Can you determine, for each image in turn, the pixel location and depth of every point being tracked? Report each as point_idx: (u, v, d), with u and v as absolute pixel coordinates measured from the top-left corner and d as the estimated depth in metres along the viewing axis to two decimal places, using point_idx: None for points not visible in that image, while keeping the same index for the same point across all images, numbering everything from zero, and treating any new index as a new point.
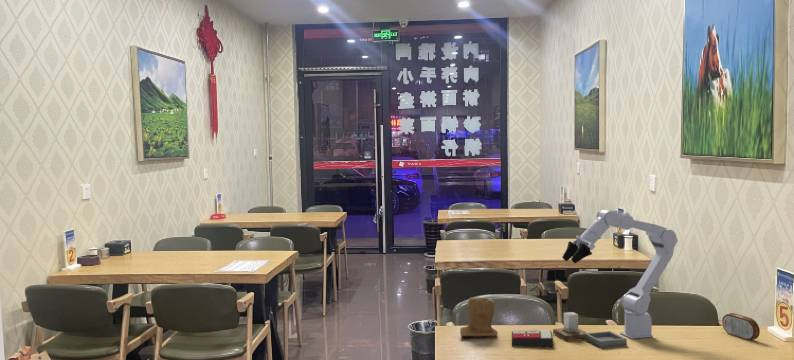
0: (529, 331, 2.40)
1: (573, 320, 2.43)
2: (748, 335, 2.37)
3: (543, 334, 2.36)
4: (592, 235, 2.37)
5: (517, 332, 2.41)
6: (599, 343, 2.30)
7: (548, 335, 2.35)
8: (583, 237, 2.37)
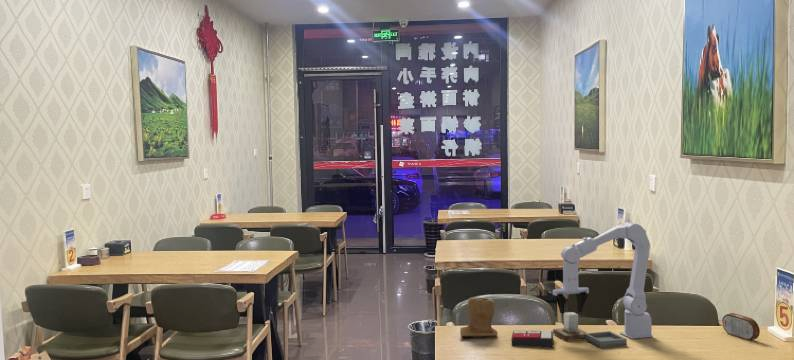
0: (530, 331, 2.40)
1: (573, 320, 2.43)
2: (748, 335, 2.37)
3: (543, 334, 2.36)
4: (563, 280, 2.45)
5: (518, 332, 2.41)
6: (599, 343, 2.30)
7: (548, 335, 2.34)
8: None
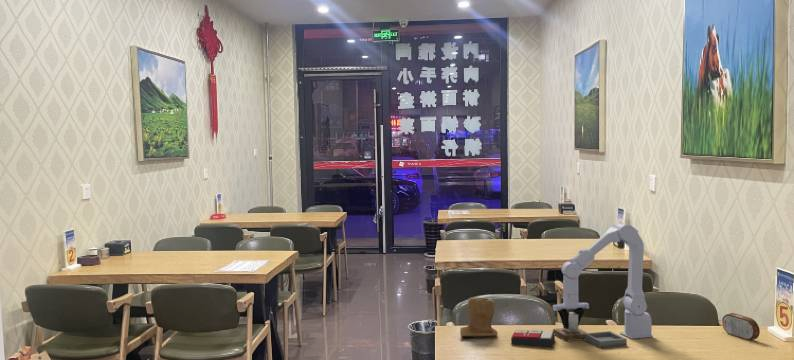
0: (531, 331, 2.41)
1: (573, 320, 2.43)
2: (748, 335, 2.37)
3: (544, 334, 2.36)
4: (563, 295, 2.45)
5: (519, 331, 2.42)
6: (599, 343, 2.30)
7: (548, 335, 2.34)
8: None
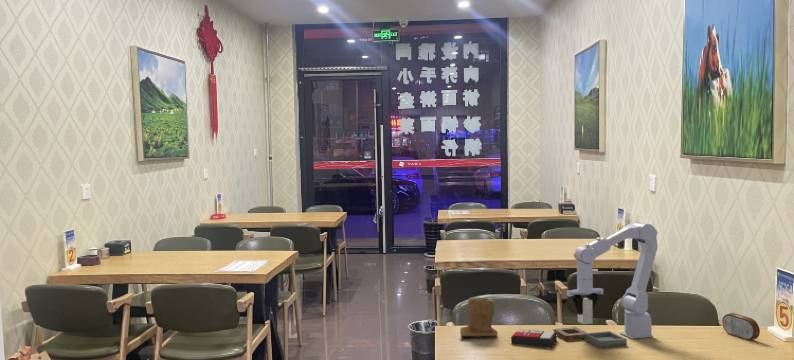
0: (532, 331, 2.41)
1: (587, 306, 2.39)
2: (748, 335, 2.37)
3: (544, 334, 2.36)
4: (577, 281, 2.41)
5: (520, 331, 2.42)
6: (599, 343, 2.30)
7: (548, 335, 2.34)
8: None
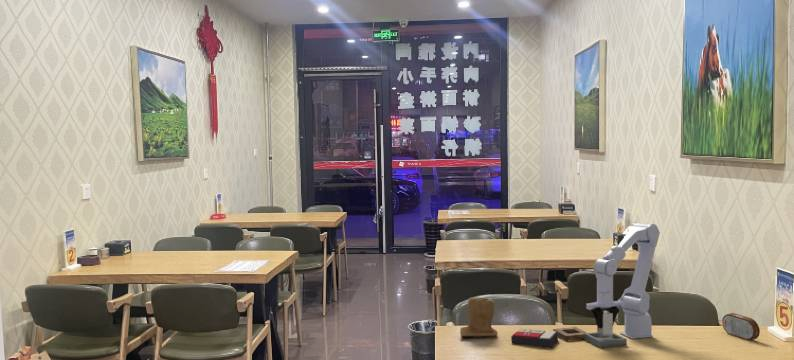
0: (533, 331, 2.41)
1: (607, 319, 2.34)
2: (748, 335, 2.37)
3: (544, 334, 2.36)
4: (597, 293, 2.36)
5: (521, 330, 2.43)
6: (599, 343, 2.30)
7: (548, 336, 2.34)
8: None
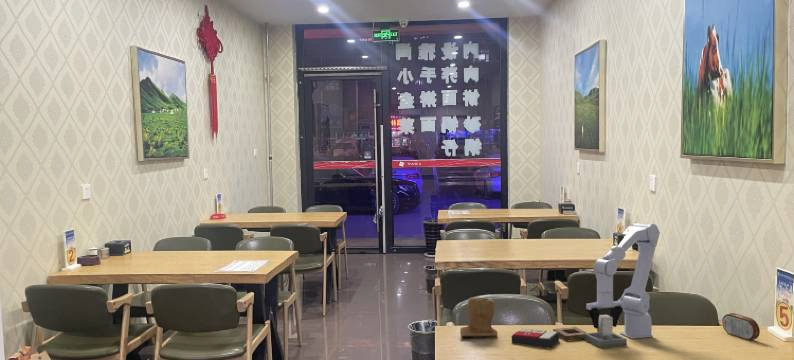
0: (534, 331, 2.41)
1: (607, 323, 2.34)
2: (748, 335, 2.37)
3: (545, 334, 2.36)
4: (597, 293, 2.36)
5: (523, 330, 2.43)
6: (599, 343, 2.30)
7: (548, 336, 2.34)
8: None
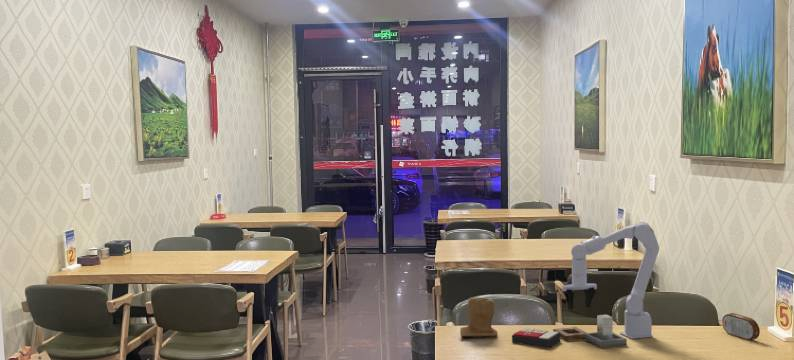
0: (535, 331, 2.41)
1: (607, 323, 2.34)
2: (748, 335, 2.37)
3: (545, 334, 2.36)
4: (572, 276, 2.52)
5: (524, 330, 2.43)
6: (599, 343, 2.30)
7: (548, 336, 2.34)
8: None
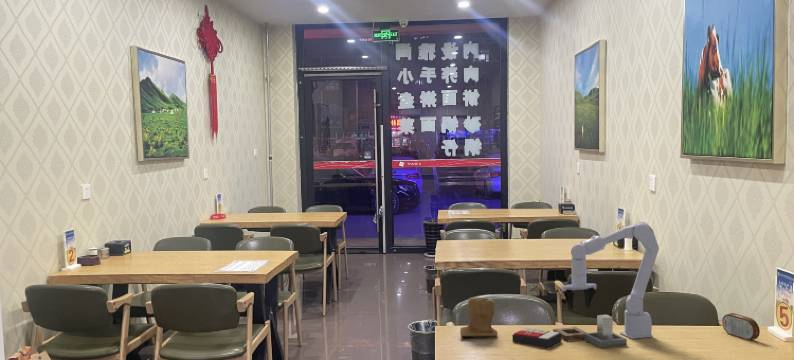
0: (537, 331, 2.41)
1: (607, 323, 2.34)
2: (748, 335, 2.37)
3: (545, 335, 2.36)
4: None
5: (525, 330, 2.44)
6: (599, 343, 2.30)
7: (548, 336, 2.33)
8: None
